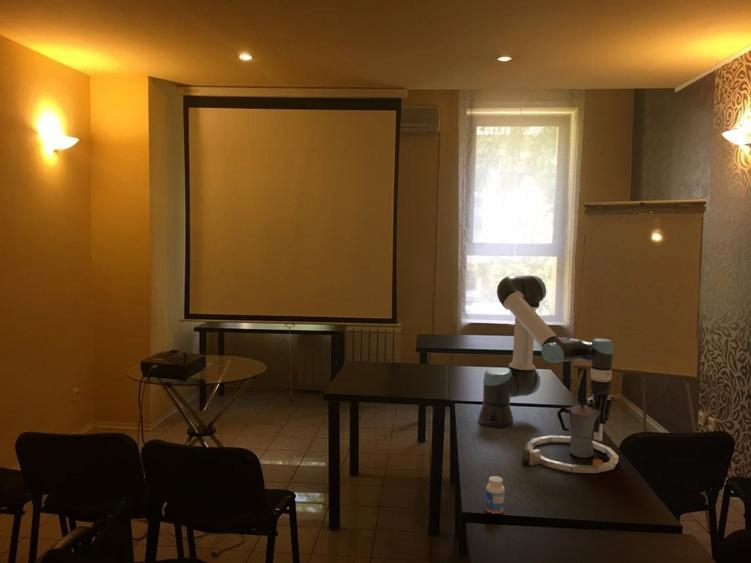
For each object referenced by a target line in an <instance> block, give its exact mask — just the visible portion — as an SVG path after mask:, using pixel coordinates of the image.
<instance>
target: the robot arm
mask: <svg viewBox="0 0 751 563" xmlns="http://www.w3.org/2000/svg"><path fill="white" fill-rule="evenodd" d="M496 295H497V296H496V297H497V299H498V301H499V302H500V304H501V305H502V307H503V308H504V309H505V310H508V311H510V312H511V313H512V314H513V316H514V317H515V318H514V334H513V350H512V361H511V362H510V363H508V368H506V367H493V368H489V369H487V370H486V371H485V372H484V375H483V390H482V391H483V395H482V396H483V397H482V405H481V409H480V411H479V414H478V420H477V422H479V423H480V424H481V425H483V426H486V427H491V428H508V427H511V426H513V425H514V416H513V412H512V410H511V398H517V397H526V396H530V395H533V394H535V393H536V392H538V390H539V388H540V386H541V376H540V374H539V371H538V370H536V366H535V365H534V364H533V358H534V357H533V356H534V355H533V354H534V340H535V341H536V343H537V344H538V346H539V347H540V348H541V350H540V352H541V355H542V358H543V360H544V361H545V362H547V363H553V364H554V363H561V362H562V363H563V362H570V361H582V360H583V361H585V362H589V363H590V378H591V379H590V380H589V382H590V383H589V388H590V390H591V393H590V397H589V398H585V401H586V403H587V406H588V407H592V408H593V409H595V410H598V411H600V414H599V415H598V417H597V419H596V421H595V423H594V427H593V439H594V440H595V441H597V442H603V431H604V425H606V424H607V422H608V421H609V417H610V413H611V409H612V404H613V401H614V399H615V396H613V395H611V394H610V391H611V390H612V381H611V380H612V376H613V375H612V371H613V358H614V343H613V341H612V340H611V339H608V338H599V337H598V338H597V337H596V338H593V339H592V342H591V341H587V340H584V339H583V340H582V339H580V338H570V339H569V340H567V341H562V340H561V338H559V337H558V335H556V333H555V332H554V331H553V330H552V328H550V327H549V326H548V324H547V323H546V322H545V321H544V319H542V317H541V316H540V315H539V314H538V313H537V310H538V309H539V308H540V303H541V302H542V301H543V300H544V299H545V298H546V295H547V288H546V284H545V282H544V281H543V280H542V278H540V277H539V276H536V275H531V274H530V275H527V274H526V275H509V276H508V275H507V276H506V277H504V278H502V279H501V280H500V282H499V283H498V285H497V288H496Z"/></svg>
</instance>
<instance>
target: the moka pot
mask: <svg viewBox="0 0 751 563" xmlns="http://www.w3.org/2000/svg"><path fill="white" fill-rule="evenodd" d="M562 413H565V414H569V423H570V428H571V429H570V428H567V427H566V426H565V424H564V423H565V422H564V420H563V416H562ZM599 414H600V411H598V410H595V409H593V408H592V407H588V405H586V403H584V402H581V403H579V405H572V406H571V407H564V406H562V408H560V409H559V410H558V411H557V419H558V420H559V423H560V426H561V428H562V431H565V432H569V431H571V435H570V437H571V441H570V443H569V448H568V453H570V455H572V456H574V457H577V458H585V459H586V458H591V457H593V456H594V453H595V451H594V448H593V441H594V440H593V439H594V437H593V436H592V435H593V431H594V423H595V421H596V419H597V417H598V415H599Z"/></svg>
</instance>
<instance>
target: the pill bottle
mask: <svg viewBox="0 0 751 563" xmlns="http://www.w3.org/2000/svg"><path fill="white" fill-rule="evenodd" d="M503 483H504V482H503V478H502V477H500V476H498V475H492V476H491V475H490V476H489V478H488V483H487V485H486V490H485V511H487V512H488V513H490V512H491V514H495V513H496V514H497V513H499V514H501V513H503V512H504V510H505V486H504V485H503Z"/></svg>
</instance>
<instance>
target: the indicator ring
mask: <svg viewBox="0 0 751 563" xmlns="http://www.w3.org/2000/svg"><path fill="white" fill-rule="evenodd" d="M570 441H571V435H545V436H543V435H542V436H539V437H534V438H531V439H529V441H528V442H527V443H526V444H525V449H523V450H522V452H521V466H522V467H524V468H525V467H526V468H527V467H530V466H534V465H539V464H541V465H542V466H545V467H548V468H552V469H556V470H561V471H564V472H569V473H581V474H583V473H584V474H599V473H603V472H607V471H611V470H614V469H615V468H616V466H617V465H618V462H619V455H618V454H617V453H616V452H615V451H614V449H612V448H611V447H609V446H607V445H604V444H602V443H599V442H598V441H596V440H595V441H594V440H592V441H593V450H594V449H595V450H596V451H599V452H601V453H604V454H605V455H606V456H607V457H608V458H609V460H608V461H606V462H603V460H602V459H599V458H594V459H592V464H591V465H589V464H571V463H567V462H562V461H558V460H553V459H550V458H548V457H545V456H543V455H542V450H540V449H538V448H536V446H539V445H542V444H549V443H564V444H565V443H569V444H570ZM534 448H536V449H534Z"/></svg>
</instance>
